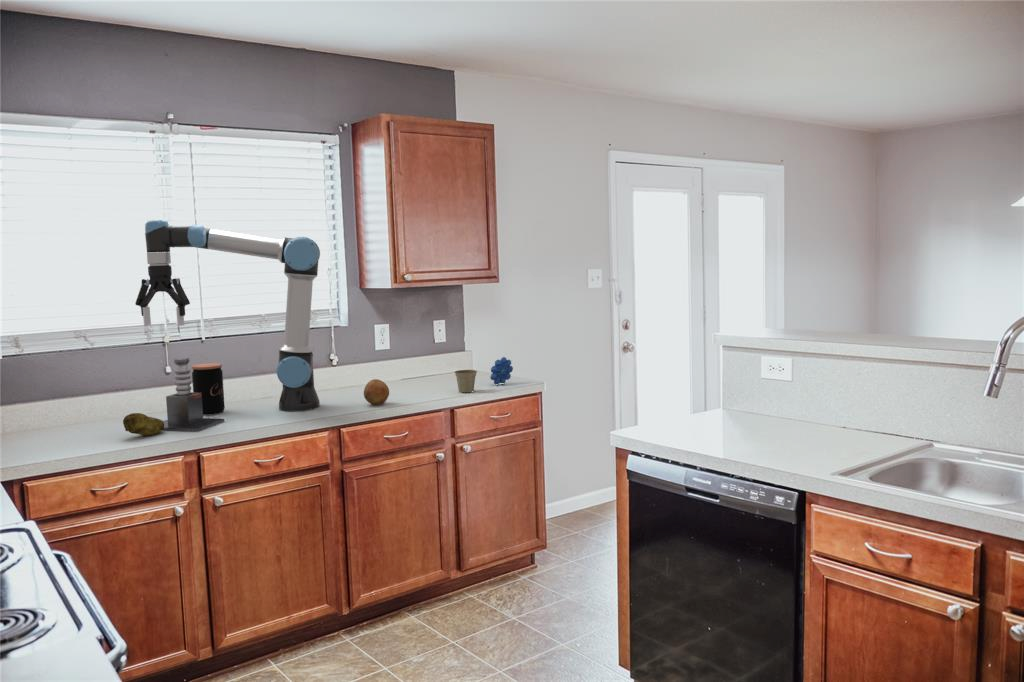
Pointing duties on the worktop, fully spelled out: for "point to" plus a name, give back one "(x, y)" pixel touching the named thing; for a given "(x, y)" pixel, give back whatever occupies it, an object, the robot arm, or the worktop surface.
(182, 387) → the column
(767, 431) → the worktop surface
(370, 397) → the brown ball
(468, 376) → the flower pot
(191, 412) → the stand
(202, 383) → the coffee jar
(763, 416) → the worktop surface
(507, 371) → the grapes
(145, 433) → the potato
